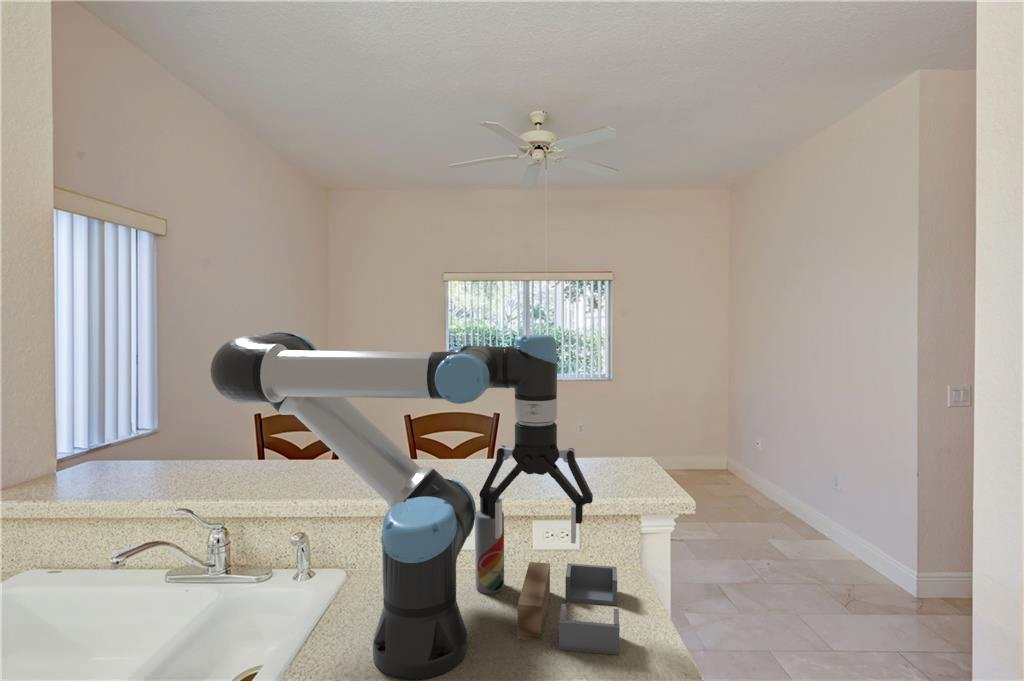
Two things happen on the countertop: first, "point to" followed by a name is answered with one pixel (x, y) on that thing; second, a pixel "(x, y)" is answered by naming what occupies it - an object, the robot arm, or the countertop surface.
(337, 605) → the countertop surface
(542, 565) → the slat
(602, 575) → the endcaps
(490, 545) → the lotion bottle
